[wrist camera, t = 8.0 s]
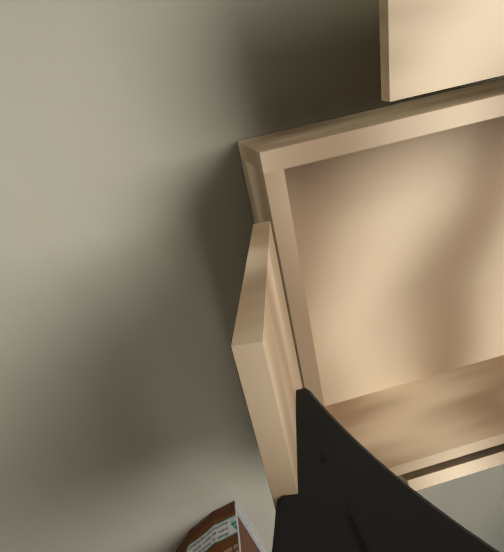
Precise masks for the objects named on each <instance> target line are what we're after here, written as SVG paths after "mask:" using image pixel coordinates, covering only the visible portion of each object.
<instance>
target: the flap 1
mask: <svg viewBox="0 0 504 552" xmlns="http://www.w3.org/2000/svg"><path fill="white" fill-rule="evenodd" d="M231 348H232V352H233V355H234V359H235V363H236V366H237V370H238V374H239V377H240V381H241V385H242V388H243V392H244V395H245V399H246V403H247V406H248V410H249V414H250V417H251V421H252V425H253V428H254V432H255V436H256V439H257V443H258V447H259V450H260V454H261V458H262V461H263V465H264V469H265V472H266V476H267V480H268V483H269V487H270V491H271V494H272V498H273V502H274V505H275V509H276V502H277V500H278V499H279V498H280V497H281V496H282V495H291V494H298V476H297V442H296V390H298V389H302V388H303V387H302V382H301V377H300V372H299V367H298V362H297V357H296V351H295V346H294V341H293V336H292V331H291V326H290V321H289V316H288V311H287V305H286V300H285V295H284V290H283V285H282V280H281V275H280V270H279V264H278V259H277V254H276V249H275V244H274V239H273V234H272V229H271V224H270V221H267V222H262V223H256V224H253V229H252V235H251V240H250V245H249V251H248V256H247V262H246V267H245V273H244V278H243V284H242V289H241V295H240V300H239V306H238V311H237V317H236V322H235V327H234V333H233V338H232V344H231Z"/></svg>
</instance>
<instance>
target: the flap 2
mask: <svg viewBox="0 0 504 552" xmlns="http://www.w3.org/2000/svg"><path fill="white" fill-rule="evenodd" d="M379 25H380V63H381V100H382V101H387V102H392V101H396V100H400V99H404V98H409V97H413V96H417V95H421V94H426V93H430V92H434V91H438V90H443V89H447V88H451V87H456V86H460V85H464V84H468V83H473V82H477V81H481V80H485V79H490V78H494V77H498V76H502V75H504V0H379Z"/></svg>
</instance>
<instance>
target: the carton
mask: <svg viewBox="0 0 504 552" xmlns="http://www.w3.org/2000/svg"><path fill="white" fill-rule="evenodd" d="M237 142H238V147H239V152H240V157H241V161H242V166H243V171H244V175H245V180H246V185H247V190H248V194H249V199H250V204H251V208H252V213H253V218H254V223H255V224H256V223H262V222H267V221H270V224H271V229H272V234H273V239H274V244H275V249H276V254H277V259H278V264H279V270H280V275H281V280H282V285H283V290H284V295H285V300H286V305H287V311H288V316H289V321H290V326H291V331H292V336H293V341H294V346H295V351H296V357H297V362H298V367H299V372H300V377H301V382H302V387H303V388H307V389H308V390H310V391H311V392H312V393H313V395H314V396H315V397H316V398H317V399H318V401H319V402H320V403H321V404H322V405H323V406H324V407H325V409H326V410H327V411H328V412H329V413H330V414H331V415H332V416H333V417H334V418H335V419H336V420H337V421H338V422H339V423H340V424H341V425H342V426H343V427H344V428H345V429H346V430H347V431H348V432H349V433H350V434H351V435H352V436H353V437H354V438H355V439H356V440H357V441H358V442H359V443H360V444H361V445H362V446H364V447H365V448H366V449H367V450H368V451H369V452H370V453H371V454H372V455H373V456H374V457H375V458H377V459H378V460H379V461H380V462H381V463H382V464H383V465H385V466H386V467H387V468H388V469H389V470H390V471H392V472H393V473H394V474H395V475H396V476H398V477H399V478H400V479H401V480H402V481H404V482H405V483H406V484H407V485H408V486H410V487H411V488H412V489H413V490H415V491H417V490H420V489H424V488H427V487H430V486H433V485H436V484H440V483H443V482H446V481H449V480H453V479H456V478H459V477H462V476H466V475H469V474H472V473H475V472H479V471H482V470H485V469H488V468H492V467H495V466H498V465H501V464H504V78H503V79H499V80H495V81H491V82H486V83H482V84H478V85H474V86H469V87H465V88H461V89H457V90H452V91H448V92H444V93H440V94H435V95H431V96H427V97H423V98H418V99H414V100H410V101H406V102H401V103H397V104H393V105H389V106H384V107H380V108H376V109H372V110H367V111H363V112H359V113H355V114H350V115H346V116H342V117H338V118H333V119H329V120H325V121H321V122H317V123H312V124H308V125H304V126H300V127H295V128H291V129H287V130H283V131H278V132H274V133H270V134H266V135H261V136H257V137H253V138H249V139H244V140H240V141H237Z"/></svg>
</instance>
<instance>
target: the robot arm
mask: <svg viewBox="0 0 504 552" xmlns="http://www.w3.org/2000/svg"><path fill="white" fill-rule="evenodd" d="M296 442H297V476H298V494H291V495H282V496H281V497H280V498H279V499H278V500H277V502H276V516H275V529H274V538H273V547H272V552H499V551H497V550H496V549H494V548H493V547H492V546H490V545H489V544H487V543H486V542H484V541H483V540H481V539H480V538H479V537H477V536H476V535H474V534H473V533H471V532H470V531H468V530H467V529H465V528H464V527H463V526H461V525H460V524H458V523H457V522H456V521H454V520H453V519H452V518H450V517H449V516H448V515H446V514H445V513H443V512H442V511H441V510H439V509H438V508H437V507H435V506H434V505H433V504H431V503H430V502H429V501H427V500H426V499H425V498H424V497H422V496H421V495H420V494H418V493H417V492H416V491H415V490H413V489H412V488H411V487H410V486H408V485H407V484H406V483H405V482H404V481H402V480H401V479H400V478H399V477H398V476H396V475H395V474H394V473H393V472H392V471H390V470H389V469H388V468H387V467H386V466H385V465H383V464H382V463H381V462H380V461H379V460H378V459H377V458H375V457H374V456H373V455H372V454H371V453H370V452H369V451H368V450H367V449H366V448H365V447H364V446H362V445H361V444H360V443H359V442H358V441H357V440H356V439H355V438H354V437H353V436H352V435H351V434H350V433H349V432H348V431H347V430H346V429H345V428H344V427H343V426H342V425H341V424H340V423H339V422H338V421H337V420H336V419H335V418H334V417H333V416H332V415H331V414H330V413H329V412H328V411H327V410H326V409H325V407H324V406H323V405H322V404H321V403H320V402H319V401H318V399H317V398H316V397H315V396H314V395H313V393H312V392H311V391H310V390H308V389H307V388H302V389H298V390H296Z"/></svg>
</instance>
